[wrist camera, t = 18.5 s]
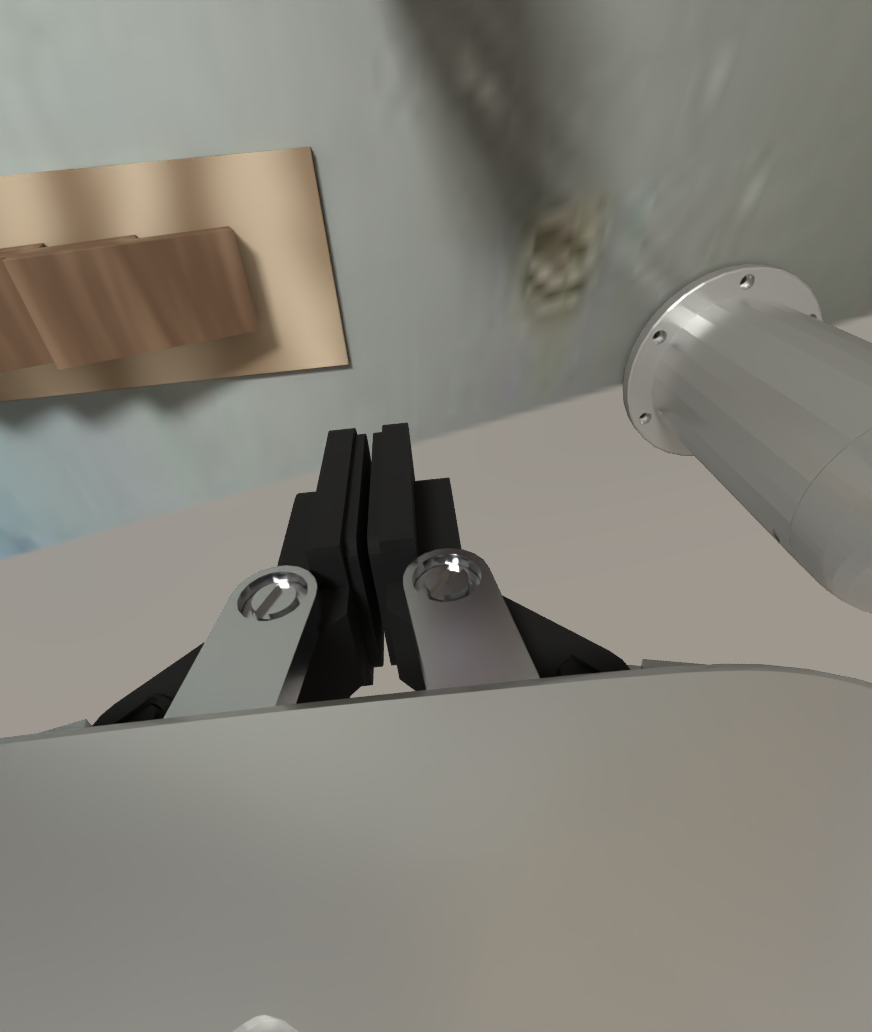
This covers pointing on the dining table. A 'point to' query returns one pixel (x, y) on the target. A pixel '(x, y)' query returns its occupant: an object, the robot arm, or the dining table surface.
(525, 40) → the dining table surface
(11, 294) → the domino
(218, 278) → the domino
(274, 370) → the light wooden board
